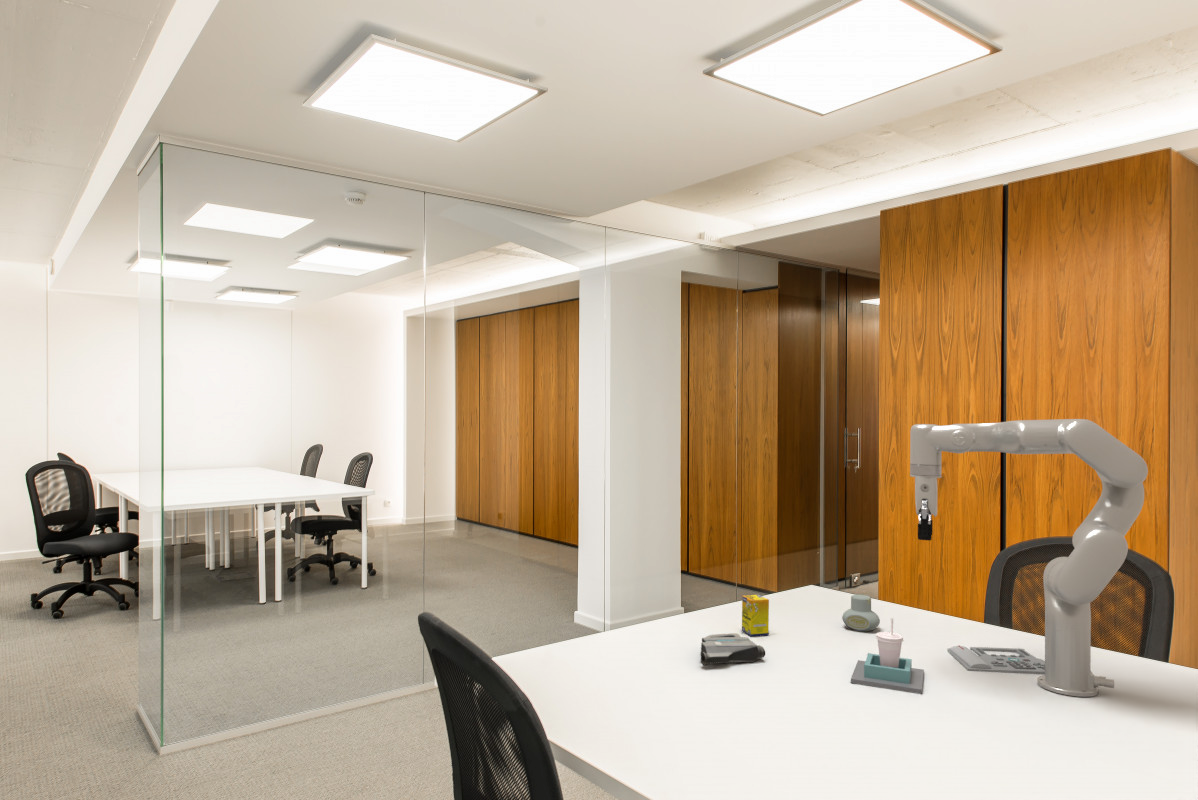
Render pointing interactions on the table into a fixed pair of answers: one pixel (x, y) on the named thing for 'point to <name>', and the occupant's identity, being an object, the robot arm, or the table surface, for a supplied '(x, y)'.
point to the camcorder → (729, 649)
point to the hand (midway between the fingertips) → (925, 537)
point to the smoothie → (889, 647)
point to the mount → (888, 675)
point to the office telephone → (997, 660)
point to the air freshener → (861, 614)
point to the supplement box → (755, 615)
